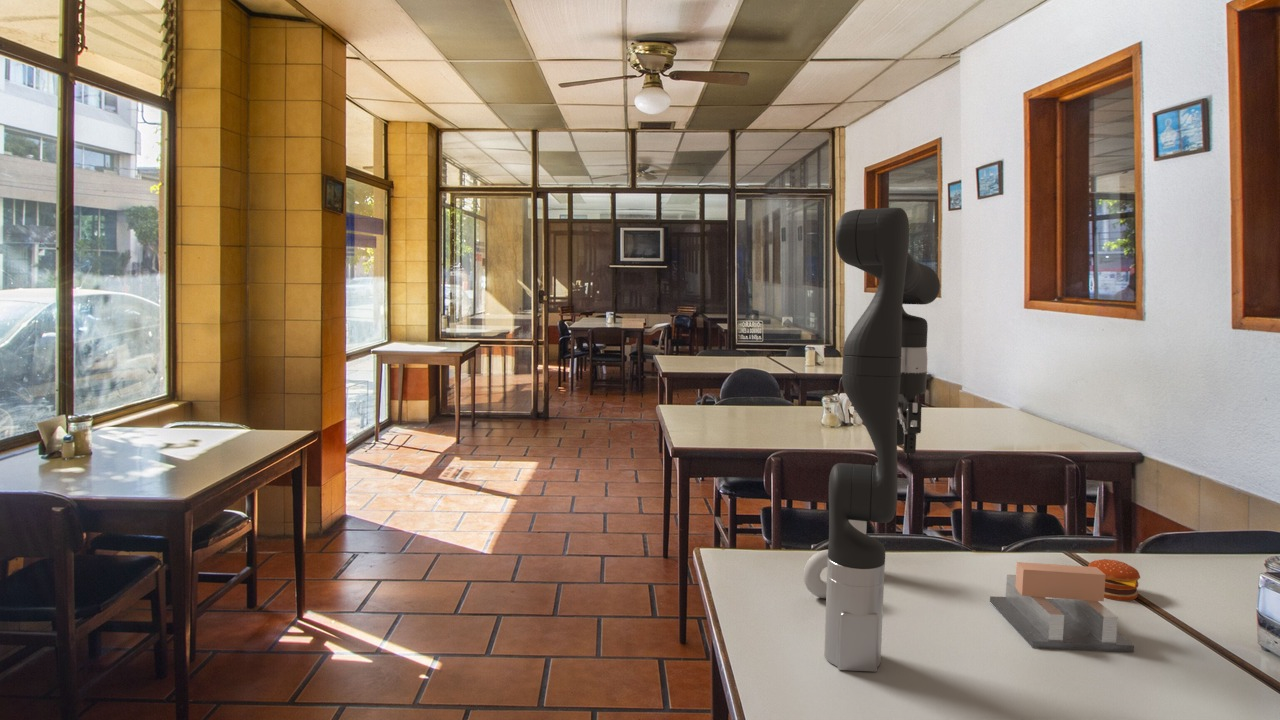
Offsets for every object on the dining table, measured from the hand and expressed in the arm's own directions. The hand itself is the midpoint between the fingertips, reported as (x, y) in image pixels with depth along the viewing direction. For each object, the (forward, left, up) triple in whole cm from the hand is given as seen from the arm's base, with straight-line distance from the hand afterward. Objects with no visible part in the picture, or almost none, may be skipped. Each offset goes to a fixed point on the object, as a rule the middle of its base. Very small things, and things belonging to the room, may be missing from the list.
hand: (903, 448), depth 158 cm
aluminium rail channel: (-13, -26, -30) cm, 42 cm away
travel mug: (+12, +7, -30) cm, 33 cm away
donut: (-4, +15, -30) cm, 34 cm away
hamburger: (+5, -45, -30) cm, 55 cm away
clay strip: (-13, -26, -24) cm, 38 cm away
